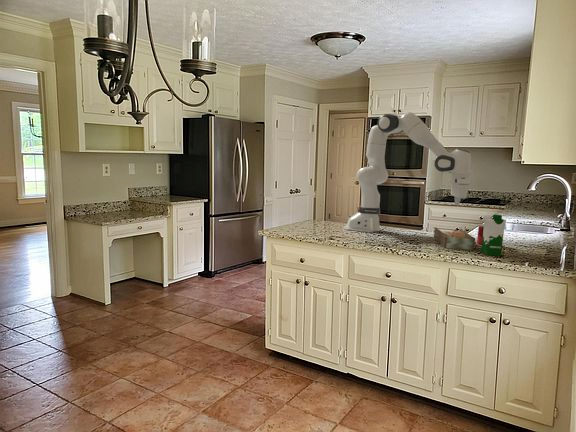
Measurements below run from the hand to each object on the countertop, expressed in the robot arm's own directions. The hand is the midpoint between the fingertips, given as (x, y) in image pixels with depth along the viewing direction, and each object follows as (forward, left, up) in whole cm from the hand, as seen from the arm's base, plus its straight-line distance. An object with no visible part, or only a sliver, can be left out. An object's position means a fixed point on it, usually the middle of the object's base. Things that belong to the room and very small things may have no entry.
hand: (456, 205), depth 235 cm
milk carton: (+14, -20, -22) cm, 32 cm away
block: (0, -8, -17) cm, 19 cm away
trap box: (0, +1, -21) cm, 21 cm away
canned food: (+18, +4, -22) cm, 28 cm away
